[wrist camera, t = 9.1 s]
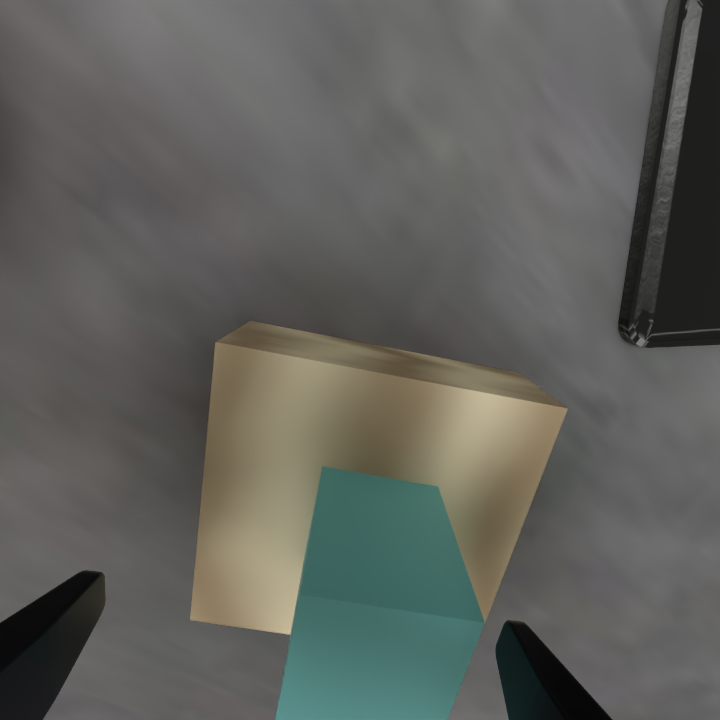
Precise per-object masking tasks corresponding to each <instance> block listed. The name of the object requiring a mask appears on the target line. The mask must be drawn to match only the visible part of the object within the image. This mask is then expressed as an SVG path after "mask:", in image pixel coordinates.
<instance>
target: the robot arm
mask: <svg viewBox="0 0 720 720" xmlns="http://www.w3.org/2000/svg"><path fill="white" fill-rule="evenodd" d="M105 600H106V599H105V577H104V574H103V573H102V572H97V571H88V570H85V571H82V572H79V573H77V574H76V575H74V576H73V577H71V578H70V579H68V580H66V581H65V582H63V583H62V584H60V585H59V586H57V587H56V588H54V589H52V590H51V591H49V592H48V593H46V594H45V595H43V596H41V597H40V598H38V599H37V600H35V601H34V602H32V603H30V604H29V605H27V606H26V607H24V608H23V609H21V610H19V611H18V612H16V613H15V614H13V615H12V616H10V617H8V618H7V619H5V620H4V621H2V622H1V623H0V720H43V718H44V717H45V715H46V714H47V712H48V710H49V709H50V707H51V706H52V704H53V702H54V701H55V699H56V697H57V695H58V694H59V692H60V690H61V688H62V686H63V685H64V683H65V681H66V679H67V677H68V675H69V673H70V672H71V670H72V668H73V666H74V664H75V662H76V660H77V659H78V657H79V655H80V653H81V651H82V649H83V647H84V645H85V644H86V642H87V640H88V638H89V636H90V634H91V632H92V630H93V629H94V627H95V625H96V623H97V621H98V619H99V617H100V616H101V614H102V611H103V609H104V606H105ZM496 659H497V664H498V669H499V674H500V679H501V684H502V689H503V694H504V698H505V703H506V708H507V713H508V718H509V720H612V719H611V718H610V716H609V715H608V714H607V713H606V712H605V711H604V710H603V709H602V708H601V706H600V705H599V704H598V703H597V702H596V701H595V700H594V699H593V698H592V696H591V695H590V694H589V693H588V692H587V691H586V690H585V689H584V688H583V686H582V685H581V684H580V683H579V682H578V681H577V680H576V679H575V678H574V676H573V675H572V674H571V673H570V672H569V671H568V670H567V669H566V668H565V666H564V665H563V664H562V663H561V662H560V661H559V660H558V659H557V658H556V656H555V655H554V654H553V653H552V652H551V651H550V650H549V649H548V648H547V646H546V645H545V644H544V643H543V642H542V641H541V640H540V639H539V638H538V636H537V635H536V634H535V633H534V632H533V631H532V630H531V629H530V628H529V626H528V625H526V624H525V623H524V622H521V621H512V620H507V621H506V622H505V623H504V625H503V628H502V631H501V633H500V636H499V639H498V641H497V644H496Z"/></svg>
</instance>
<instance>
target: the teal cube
mask: <svg viewBox="0 0 720 720" xmlns="http://www.w3.org/2000/svg"><path fill="white" fill-rule="evenodd" d="M484 624H485V621H484V619H483V616H482V613H481V610H480V607H479V604H478V601H477V598H476V595H475V592H474V589H473V587H472V584H471V581H470V578H469V575H468V572H467V569H466V566H465V563H464V560H463V558H462V555H461V552H460V549H459V546H458V543H457V540H456V537H455V534H454V531H453V528H452V526H451V523H450V520H449V517H448V514H447V511H446V508H445V505H444V502H443V499H442V497H441V494H440V491H439V488H438V487H437V486H432V485H426V484H420V483H414V482H409V481H403V480H397V479H392V478H386V477H380V476H374V475H369V474H363V473H357V472H352V471H346V470H340V469H335V468H329V467H323V466H322V470H321V475H320V480H319V485H318V490H317V496H316V501H315V506H314V511H313V516H312V521H311V526H310V531H309V536H308V541H307V547H306V552H305V557H304V562H303V567H302V573H301V579H300V584H299V590H298V595H297V601H296V606H295V612H294V618H293V623H292V629H291V634H290V640H289V645H288V651H287V657H286V662H285V668H284V673H283V679H282V684H281V690H280V696H279V701H278V707H277V712H276V718H275V720H448V717H449V715H450V712H451V709H452V707H453V704H454V702H455V699H456V697H457V694H458V691H459V689H460V686H461V684H462V681H463V678H464V676H465V673H466V671H467V668H468V666H469V663H470V660H471V658H472V655H473V653H474V650H475V647H476V645H477V642H478V640H479V637H480V635H481V632H482V629H483V627H484Z"/></svg>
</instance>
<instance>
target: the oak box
mask: <svg viewBox="0 0 720 720" xmlns="http://www.w3.org/2000/svg"><path fill="white" fill-rule="evenodd" d="M567 409H568V408H567V407H565V406H564V405H562V404H561V403H560V402H558V401H557V400H556V399H554V398H553V397H552V396H550V395H549V394H548V393H546V392H545V391H543V390H542V389H541V388H539V387H538V386H537V385H535V384H534V383H533V382H531V381H530V380H529V379H527V378H526V377H524V376H523V375H522V374H520V373H518V372H513V371H508V370H502V369H497V368H492V367H487V366H482V365H476V364H471V363H466V362H461V361H456V360H451V359H445V358H440V357H435V356H430V355H425V354H419V353H414V352H409V351H404V350H399V349H394V348H388V347H383V346H378V345H373V344H368V343H363V342H357V341H352V340H347V339H342V338H337V337H331V336H326V335H321V334H316V333H311V332H306V331H300V330H295V329H290V328H285V327H280V326H274V325H269V324H264V323H259V322H254V321H249V322H247V323H246V324H244V325H243V326H241V327H239V328H238V329H236V330H234V331H233V332H231V333H229V334H228V335H226V336H224V337H223V338H221V339H219V340H218V341H216V342H215V353H214V364H213V374H212V385H211V396H210V407H209V418H208V429H207V440H206V451H205V462H204V473H203V484H202V495H201V506H200V517H199V528H198V539H197V550H196V561H195V572H194V583H193V594H192V605H191V615H190V620H194V621H201V622H207V623H214V624H221V625H228V626H235V627H242V628H249V629H255V630H262V631H269V632H276V633H283V634H291V629H292V623H293V618H294V612H295V606H296V601H297V595H298V590H299V584H300V579H301V573H302V567H303V562H304V557H305V552H306V547H307V541H308V536H309V531H310V526H311V521H312V516H313V511H314V506H315V501H316V496H317V490H318V485H319V480H320V475H321V470H322V466H323V467H329V468H335V469H340V470H346V471H352V472H357V473H363V474H369V475H374V476H380V477H386V478H392V479H397V480H403V481H409V482H414V483H420V484H426V485H432V486H437V487H438V488H439V491H440V494H441V497H442V499H443V502H444V505H445V508H446V511H447V514H448V517H449V520H450V523H451V526H452V528H453V531H454V534H455V537H456V540H457V543H458V546H459V549H460V552H461V555H462V558H463V560H464V563H465V566H466V569H467V572H468V575H469V578H470V581H471V584H472V587H473V589H474V592H475V595H476V598H477V601H478V604H479V607H480V610H481V613H482V616H483V619H484V621H485V622H486V619H487V617H488V614H489V612H490V609H491V606H492V604H493V601H494V599H495V596H496V593H497V591H498V588H499V586H500V583H501V581H502V578H503V575H504V573H505V570H506V568H507V565H508V562H509V560H510V557H511V555H512V552H513V549H514V547H515V544H516V542H517V539H518V536H519V534H520V531H521V529H522V526H523V523H524V521H525V518H526V516H527V513H528V511H529V508H530V505H531V503H532V500H533V498H534V495H535V492H536V490H537V487H538V485H539V482H540V479H541V477H542V474H543V472H544V469H545V466H546V464H547V461H548V459H549V456H550V453H551V451H552V448H553V446H554V443H555V440H556V438H557V435H558V433H559V430H560V428H561V425H562V422H563V420H564V417H565V415H566V412H567ZM484 625H485V624H484ZM482 630H483V629H482ZM479 638H480V637H479ZM477 643H478V642H477ZM475 648H476V647H475ZM474 651H475V650H474ZM472 656H473V655H472ZM470 661H471V660H470Z"/></svg>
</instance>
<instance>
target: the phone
mask: <svg viewBox="0 0 720 720" xmlns="http://www.w3.org/2000/svg"><path fill="white" fill-rule="evenodd" d="M618 326H619V332H620V335H621V336H622V338H623V339H624V340H625V341H627V342H629V343H631V344H634V345H637V346H640V347H647V348H655V347H677V346H699V345H720V0H669V1H668V5H667V8H666V12H665V19H664V25H663V32H662V38H661V45H660V52H659V58H658V65H657V72H656V78H655V85H654V91H653V98H652V105H651V111H650V118H649V124H648V131H647V138H646V144H645V151H644V157H643V164H642V171H641V177H640V184H639V190H638V197H637V204H636V210H635V217H634V223H633V230H632V237H631V243H630V250H629V256H628V263H627V270H626V276H625V283H624V289H623V296H622V303H621V309H620V316H619V322H618Z"/></svg>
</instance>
